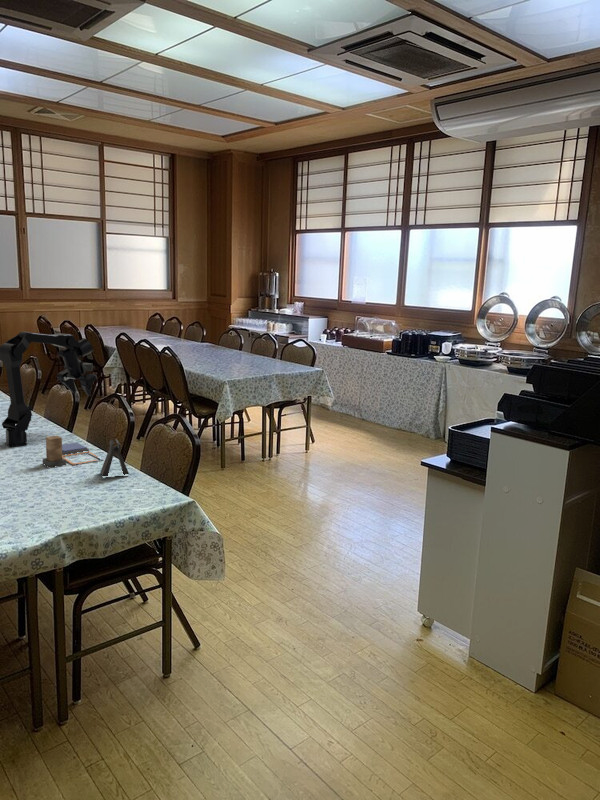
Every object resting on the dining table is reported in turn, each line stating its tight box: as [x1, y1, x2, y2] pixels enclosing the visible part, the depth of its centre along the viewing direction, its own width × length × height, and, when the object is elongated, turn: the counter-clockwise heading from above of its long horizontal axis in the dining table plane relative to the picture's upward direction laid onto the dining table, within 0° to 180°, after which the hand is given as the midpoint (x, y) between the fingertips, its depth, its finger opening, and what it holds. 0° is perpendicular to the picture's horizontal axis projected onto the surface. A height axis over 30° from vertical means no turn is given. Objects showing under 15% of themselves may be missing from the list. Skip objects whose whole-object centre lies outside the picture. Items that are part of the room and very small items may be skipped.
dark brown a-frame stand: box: [100, 438, 130, 477], centre depth 207 cm, size 9×6×12 cm, turn 112°
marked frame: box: [62, 450, 98, 466], centre depth 224 cm, size 12×13×1 cm
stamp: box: [42, 435, 67, 468], centre depth 215 cm, size 6×6×10 cm
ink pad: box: [62, 442, 90, 455], centre depth 234 cm, size 10×10×2 cm
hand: (82, 394), depth 263 cm, fingers open, 9 cm apart
